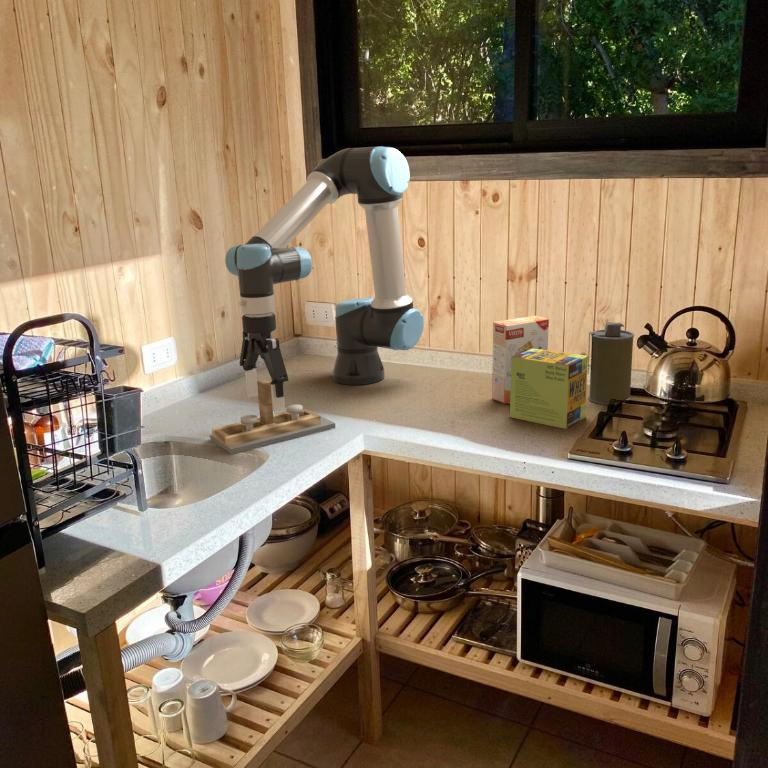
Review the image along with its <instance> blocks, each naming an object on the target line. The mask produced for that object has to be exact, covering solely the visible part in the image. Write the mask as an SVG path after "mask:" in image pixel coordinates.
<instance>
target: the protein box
mask: <svg viewBox="0 0 768 768" xmlns="http://www.w3.org/2000/svg"><path fill="white" fill-rule="evenodd" d="M587 382H588V355H586V354H585V355H584V354H577V353H571V352H570V353H569V352H564V351H563V352H562V351H554V350H541V349H530V350H527V351H525V352H522V353H520V354H517V355H515V356H512V357H511V392H510V403H509V404H510V405H509V409H510V410H509V417H510V418H512V419H517V420H521V421H527V422H532V423H536V424H540V425H546V426H550V427H555V428H560V429H568V428H570V427H572V426H573V425H575V424H576V423H578V422H579V421H582V420H583V419H585V418H586V416H587V415H586V414H587V413H586V412H587V410H586V409H587V387H588V385H587Z"/></svg>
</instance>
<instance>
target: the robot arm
mask: <svg viewBox="0 0 768 768" xmlns="http://www.w3.org/2000/svg"><path fill="white" fill-rule="evenodd" d="M410 176H411V173H410V167H409V164H408V161H407V159H406V157H405V155H404V154H403V153H401V151H399V149H396V148H394V147H391V146H383V145H382V146H368V147H348V148H344V149H341V150H339V151H337V152H335V153H334V154H332V155H330V156H329V157H327V158H326V159H324V160H323V161H322V162H320V164H319V165H317V166H316V167H315V168H314V169H313V170H312V171H310V173H309V174H308V175H307V178H306V183H304V185H303V186H302V187H301V188H299V190H298V191H296V192H295V194H294V195H293V196H292V197H291V198H290V199H289V200H288V201H287V202H286V203H285V204H283V205H282V207H280V209H279V210H278V211H277V212H276V213H275V214H274V215H273V216H271V218H270V219H269V220H268V221H267V222H266V223H265V224H263V225H262V226H261V228H260V229H259V230H258V231H257V232H256V233H255V234H254V235H253V236H252V237H251V238H249V240H248V241H246V243H244V244H238V245H233V246H231V247H230V248H229V249H228V250H227V252H226V254H225V258H224V263H225V267H226V269H227V271H228V272H229V273H230V274H231V275H233V276H236V277H238V278H237V279H238V288H239V297H240V301H239V305H240V308H241V309H240V310H241V313H242V314H243V315H242V317H241V321H242V341H241V342H242V343H241V350H240V358H239V366H240V367H242V368H243V371H244V378H245V388H246V389H245V390H246V397H247V399H248V398H249V399H250V398H255V397H258V387H257V381H258V372H257V371H258V370H257V368H258V366H257V365H256V364H257V362H258V360H259V357H260V359H262V360H263V361H264V364H265V366H266V367H265V368H266V369H267V371H268V374H269V377H270V378H271V381H270V382H271V383H270V384H271V393H272V406H273V413H274V412H275V413H276V412H279V411H284V410H286V403H285V402H286V401H285V389H284V383H286V382H289V376H288V372H287V370H286V369H287V368H286V365H285V362H284V358H283V355H282V352H281V346H280V341H279V338H273V337H272V335H271V334H272V332H274V331H275V330H276V329H277V320H276V314H275V313H274V312H275V311H276V304H275V303H276V302H275V292H274V285H277V284H281V283H288V282H293V281H298V280H301V279H304V278H307V277H308V276H309V275H310V274H311V272H312V269H313V260H312V256H311V254H310V253H309V251H308V250H307V249H306V248H304V247H303V246H302V247H301V246H291V247H287V246H289V244H290V243H291V242H293V240H295V238H296V237H298V235H299V234H300V233H301V232H302V231H303V230H304V229H305V228H306V227H307V226H308V225H309V224H310V223H311V222H312V221H313V220H314V218H316V216H318V215H319V213H320V212H321V211H322V210H323V209H324V208H325V207H326V206H327V205H329V204H334V203H335V202H337V200H338V199H339V198H341V197H343V196H345V195H352V194H353V195H357V196H356V197H357V204H358V205H359V206H360V207H361V208H363V210H364V213H365V214H364V215H365V222H366V231H367V239H368V247H369V255H370V264H371V265H370V266H371V272H372V273H371V275H372V281H373V290H374V297H361V298H353V299H348V300H344V301H341V302H339V303H337V304H336V305H335V316H334V319H335V332H336V334H335V335H336V347H337V354H336V357H335V361H334V365H333V369H332V380H333V382H335V383H338V384H343V385H350V386H351V385H352V386H353V385H354V386H356V385H357V386H358V385H367V384H373V383H377V382H380V381H382V380H384V379H385V375H386V374H385V367H384V364H383V362H382V360H381V357H380V354H379V349H378V348H382V349H387V350H388V349H389V350H393V351H409V350H411V349H413V348H414V347H415V346H416V345H417V344H418V343H419V342H420V339H421V337H422V335H423V332H424V326H425V325H424V324H425V323H424V322H425V320H424V316H423V314H422V312H421V311H420V310H419V309H417V308H414V300H413V297H411V296H410V295H409V294H408V293H407V286H406V285H407V284H406V276H405V267H404V258H403V257H404V255H403V247H402V236H401V228H400V227H401V226H400V217H399V209H398V207H399V204H400V203H401V201H402V200H403V194H404V192H405V191H406V190H408V187H409V184H408V183H409V182H410V180H411V177H410ZM286 247H287V248H286Z"/></svg>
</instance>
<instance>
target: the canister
mask: <svg viewBox="0 0 768 768" xmlns="http://www.w3.org/2000/svg"><path fill="white" fill-rule="evenodd" d="M622 327H623V328H624V327H625V325H624V323H623V322H611V321H610V322H606V323H605V327H604V329H597V330H595V331H589V333H588V335H589V336H588V350H587V351H588V355H587V356H588V363H587V375H589V373H590V376H589V377H590V378H589V396H588V400H589V401H590V402H592V403H593V404H597V405H602V406H609V405H608V403H609V401H610V400H611V399H616V400H624V399H628V398H629V397H630V398H631V383H632V366H633V365H632V364H633V352H634V351H633V347H634V337H635V334H634V333H633V332H631V331H630V330H625V329H624V330H623V329H622ZM590 341H591V342H590ZM590 348H591V351H590ZM590 352H591V353H590ZM589 367H590V368H589ZM589 370H590V371H589Z"/></svg>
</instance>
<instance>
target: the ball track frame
mask: <svg viewBox="0 0 768 768" xmlns="http://www.w3.org/2000/svg"><path fill="white" fill-rule="evenodd" d="M271 382H272V381H269V380H267V379H261V380H257V387H258V396H257V397H258V398H257V399H258V407H259V417H257V422H256V423H253V426H254V428H251V429H250V431H247V432H246V425H245V424H242V423H241V421H239V422H235V423H231V424H227V425H222V426H221V425H220V426H218V427H213V428H212V429H211V431H212V434H213V437H214V438H215V439H217V440H218V441H220V442H221V443H223V444H224V445H226V446H227V447H230V446H234V445H238V444H242V443H247V442H251V441H255V440H259V439H263V438H267V437H271V436H275V435H279V434H283V433H287V432H291V431H295V430H299V429H303V428H307V427H311V426H315V425H319V424H321V418H320V416H321V415H320V414H317V413H316V412H314V411H311V410H309V409H308V408H304V407H303V411H302V412H300V413H299V417H297V418H296V420H293V421H292V417H291V413H288V412H287V410H286V411H282V412H277V413H274V411H273V405H272V392H271V384H270V383H271ZM319 415H320V416H319ZM286 421H288V422H286ZM282 422H284V423H282ZM278 423H280V424H278ZM241 432H243V433H241ZM236 433H239V434H236ZM212 434H211V435H212ZM232 434H234V435H232ZM229 435H230V436H229Z"/></svg>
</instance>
